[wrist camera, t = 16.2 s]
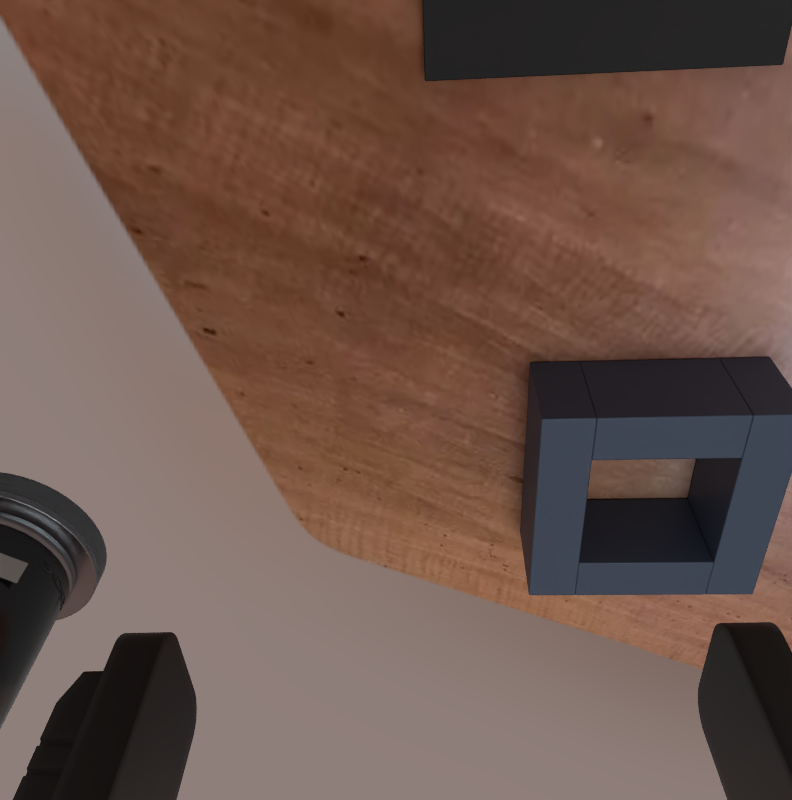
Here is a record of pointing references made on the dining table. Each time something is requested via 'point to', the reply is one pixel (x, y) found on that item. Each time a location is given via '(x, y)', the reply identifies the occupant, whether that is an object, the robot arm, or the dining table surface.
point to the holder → (654, 439)
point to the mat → (599, 36)
